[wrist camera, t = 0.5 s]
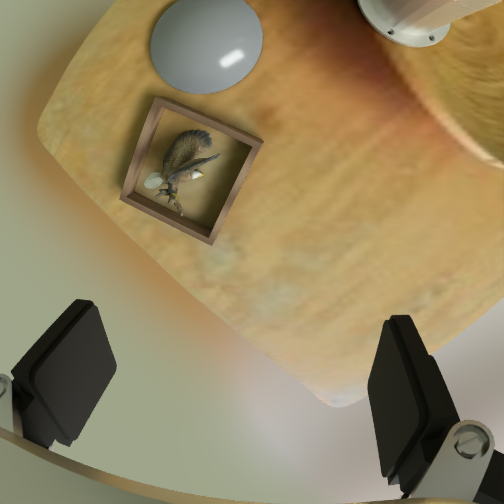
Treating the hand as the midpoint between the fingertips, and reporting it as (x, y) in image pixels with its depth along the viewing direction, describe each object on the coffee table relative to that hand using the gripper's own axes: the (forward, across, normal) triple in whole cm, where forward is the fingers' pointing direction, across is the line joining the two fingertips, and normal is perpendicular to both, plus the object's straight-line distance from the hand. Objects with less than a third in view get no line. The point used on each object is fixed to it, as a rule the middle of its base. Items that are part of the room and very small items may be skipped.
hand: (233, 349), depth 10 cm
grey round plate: (+32, +8, -17) cm, 37 cm away
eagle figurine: (+32, +11, -1) cm, 34 cm away
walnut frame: (+32, +11, 0) cm, 34 cm away
